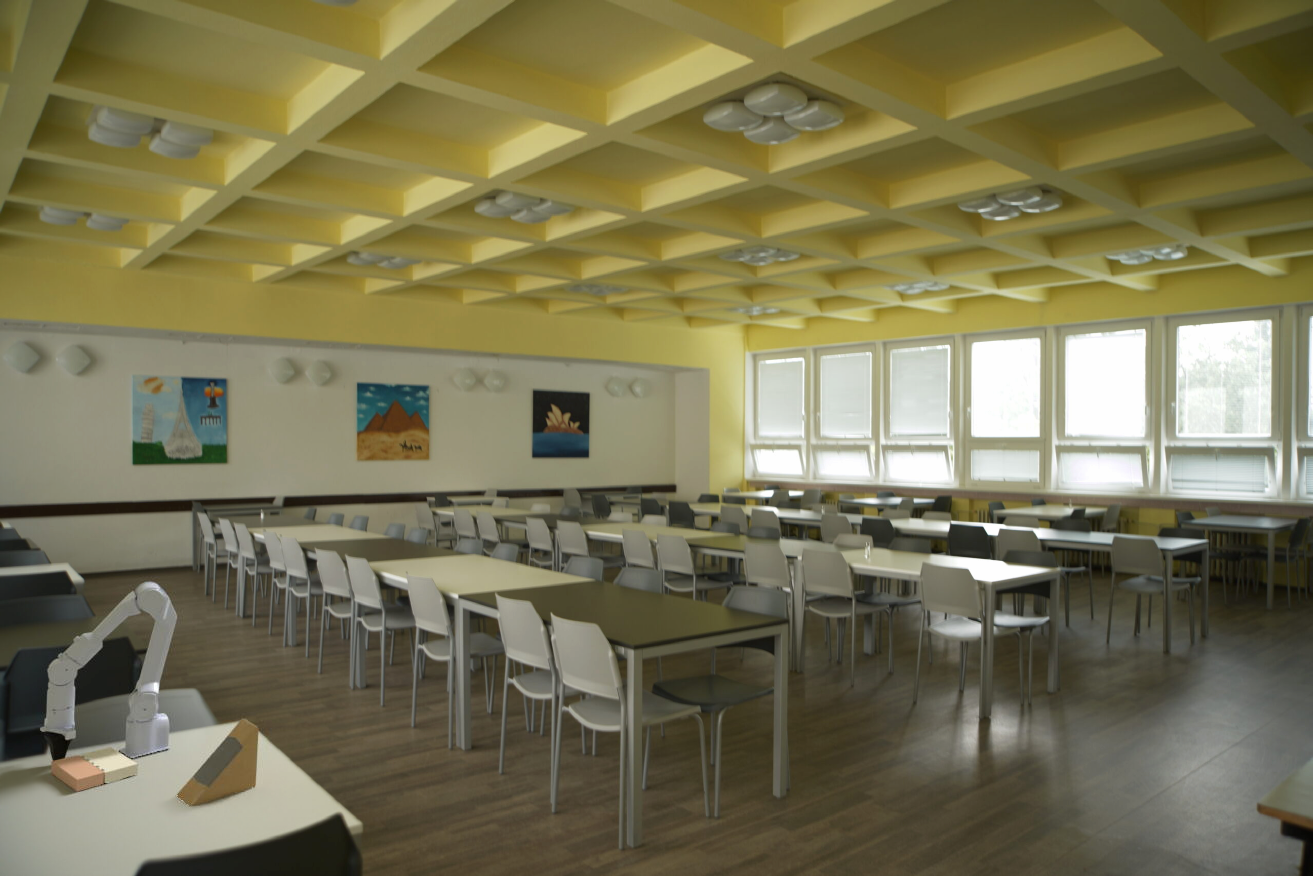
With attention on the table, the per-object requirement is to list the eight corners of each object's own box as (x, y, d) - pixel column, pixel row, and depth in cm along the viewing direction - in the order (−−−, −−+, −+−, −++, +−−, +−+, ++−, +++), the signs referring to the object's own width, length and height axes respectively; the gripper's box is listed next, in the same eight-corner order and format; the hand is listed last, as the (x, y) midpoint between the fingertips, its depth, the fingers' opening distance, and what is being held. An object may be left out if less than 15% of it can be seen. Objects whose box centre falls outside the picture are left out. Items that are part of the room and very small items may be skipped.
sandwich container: (173, 796, 197) (176, 732, 197) (239, 777, 209) (242, 717, 209) (188, 808, 192) (191, 742, 192) (256, 788, 204) (258, 726, 203)
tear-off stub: (76, 766, 210) (77, 755, 210) (103, 784, 201) (103, 772, 201) (51, 772, 206) (51, 761, 206) (76, 791, 197) (77, 779, 197)
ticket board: (110, 758, 217) (110, 746, 217) (137, 775, 207) (137, 763, 207) (78, 766, 211) (78, 754, 211) (104, 784, 201) (105, 772, 201)
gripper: (31, 704, 212) (29, 757, 212) (53, 717, 203) (50, 773, 204) (63, 697, 218) (61, 749, 218) (86, 710, 209) (83, 765, 209)
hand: (58, 760), depth 211 cm, fingers closed
